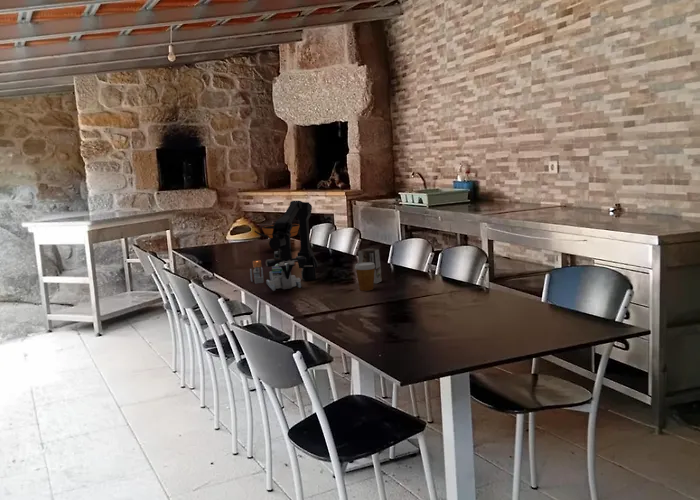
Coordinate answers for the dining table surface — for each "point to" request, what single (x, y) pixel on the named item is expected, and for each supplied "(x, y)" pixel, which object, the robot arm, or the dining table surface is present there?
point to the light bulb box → (277, 271)
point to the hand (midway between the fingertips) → (287, 279)
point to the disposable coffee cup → (365, 275)
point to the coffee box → (373, 257)
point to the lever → (256, 266)
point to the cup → (269, 229)
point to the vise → (261, 280)
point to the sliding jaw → (285, 281)
